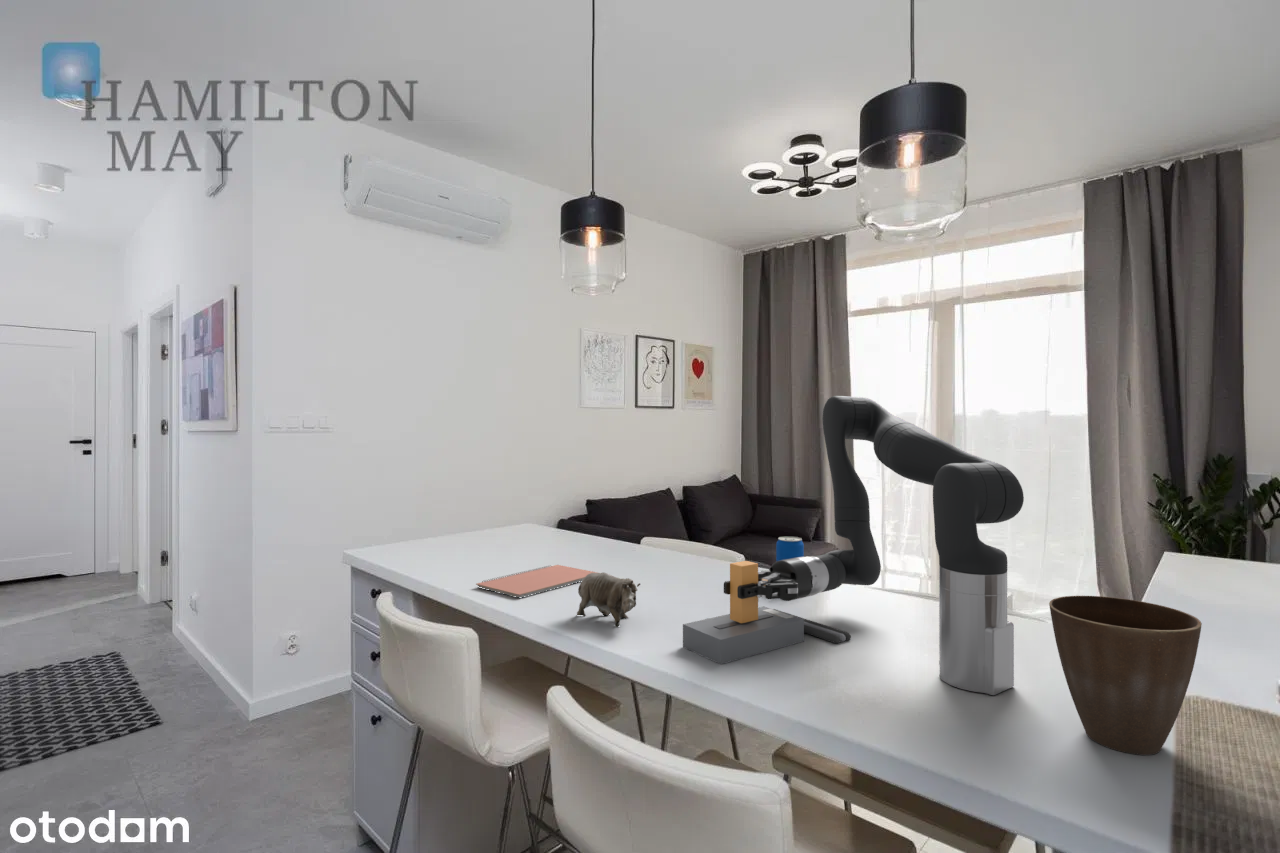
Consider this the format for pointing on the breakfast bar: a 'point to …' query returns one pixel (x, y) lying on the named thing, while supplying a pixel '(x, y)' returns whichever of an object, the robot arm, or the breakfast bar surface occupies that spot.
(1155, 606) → the plant pot
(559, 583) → the notebook
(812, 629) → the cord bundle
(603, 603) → the rhinoceros figurine
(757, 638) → the breaker box
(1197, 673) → the breakfast bar surface
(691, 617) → the breakfast bar surface
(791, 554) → the beverage can
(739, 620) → the handle
